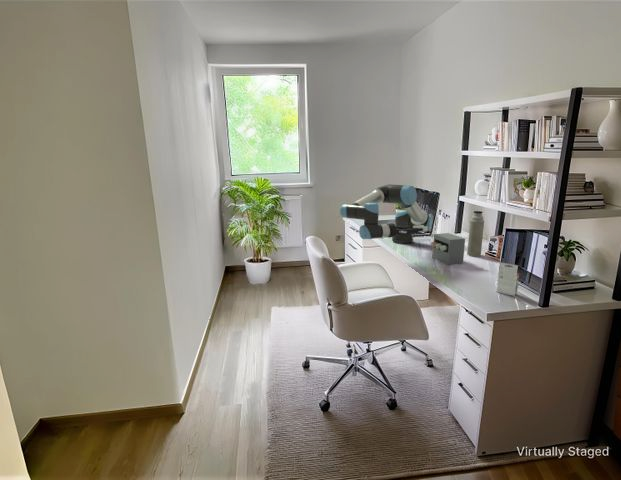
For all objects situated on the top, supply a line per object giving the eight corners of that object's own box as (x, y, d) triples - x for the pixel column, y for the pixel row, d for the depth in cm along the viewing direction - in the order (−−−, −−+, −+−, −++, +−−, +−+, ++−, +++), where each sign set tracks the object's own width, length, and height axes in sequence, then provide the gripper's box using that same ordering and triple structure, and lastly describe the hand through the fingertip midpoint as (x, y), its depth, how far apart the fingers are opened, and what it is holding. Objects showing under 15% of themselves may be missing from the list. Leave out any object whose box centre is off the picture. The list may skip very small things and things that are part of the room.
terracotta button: (430, 246, 225) (430, 241, 225) (438, 245, 227) (438, 240, 226) (433, 247, 222) (433, 242, 222) (440, 246, 224) (441, 241, 223)
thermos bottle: (466, 253, 239) (470, 210, 233) (479, 253, 237) (484, 210, 231) (467, 256, 232) (472, 212, 225) (481, 257, 230) (486, 212, 223)
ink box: (498, 290, 175) (501, 260, 172) (517, 294, 170) (520, 263, 166) (496, 292, 172) (499, 262, 169) (514, 296, 167) (518, 265, 164)
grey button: (435, 248, 221) (435, 243, 220) (442, 247, 222) (443, 242, 221) (438, 249, 218) (438, 244, 217) (445, 248, 219) (446, 243, 219)
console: (432, 257, 229) (434, 234, 226) (446, 256, 232) (448, 233, 228) (448, 265, 214) (450, 239, 211) (463, 263, 217) (465, 238, 213)
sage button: (439, 250, 216) (440, 245, 216) (447, 249, 218) (448, 244, 217) (443, 251, 213) (443, 246, 213) (450, 250, 215) (451, 245, 214)
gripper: (380, 234, 211) (417, 231, 217) (393, 240, 196) (432, 237, 202) (381, 221, 209) (418, 219, 215) (394, 226, 194) (433, 224, 200)
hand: (425, 228), depth 209 cm, fingers open, 3 cm apart
